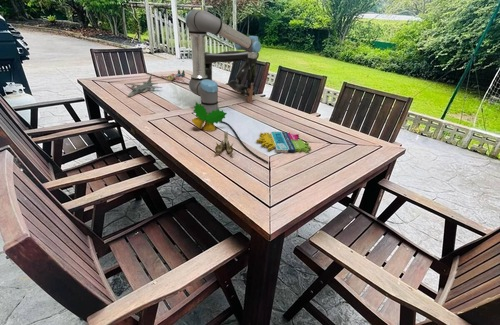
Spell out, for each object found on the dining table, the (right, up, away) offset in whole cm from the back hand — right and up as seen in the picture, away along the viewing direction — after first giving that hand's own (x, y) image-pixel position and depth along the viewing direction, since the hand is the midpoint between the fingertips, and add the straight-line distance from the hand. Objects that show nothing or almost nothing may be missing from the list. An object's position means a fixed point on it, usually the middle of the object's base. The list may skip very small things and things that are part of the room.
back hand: (251, 94), depth 217 cm
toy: (-81, +34, +64) cm, 109 cm away
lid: (-1, +9, -3) cm, 10 cm away
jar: (-2, -5, +5) cm, 7 cm away
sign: (+17, -45, -64) cm, 81 cm away
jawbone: (-15, -51, -78) cm, 94 cm away
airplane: (-95, +6, +13) cm, 96 cm away
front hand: (-1, +6, -1) cm, 6 cm away
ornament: (-27, -35, -52) cm, 69 cm away
